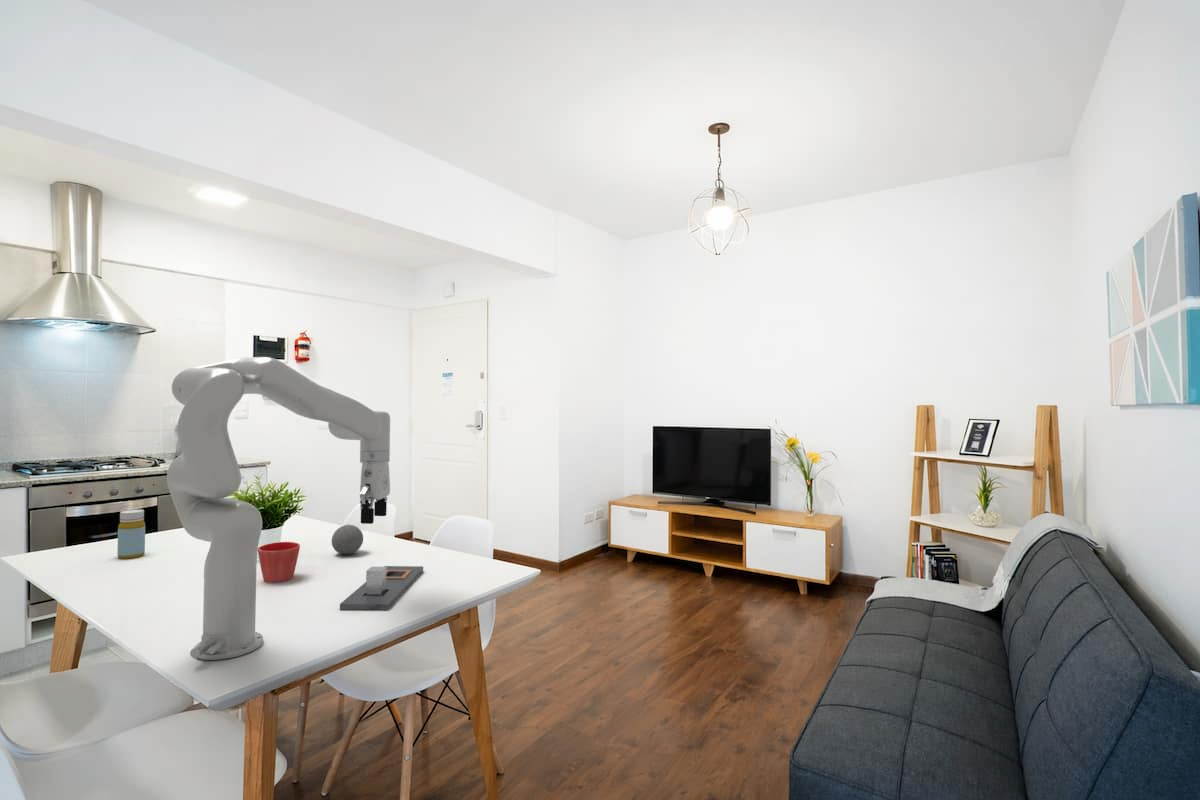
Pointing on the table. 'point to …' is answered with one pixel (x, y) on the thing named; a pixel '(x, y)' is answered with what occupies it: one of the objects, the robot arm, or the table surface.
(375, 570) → the steel rectangular block
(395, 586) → the grey board with holes
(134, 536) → the bottle
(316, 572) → the table surface
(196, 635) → the table surface
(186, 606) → the table surface
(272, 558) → the flower pot
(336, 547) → the decorative ball
